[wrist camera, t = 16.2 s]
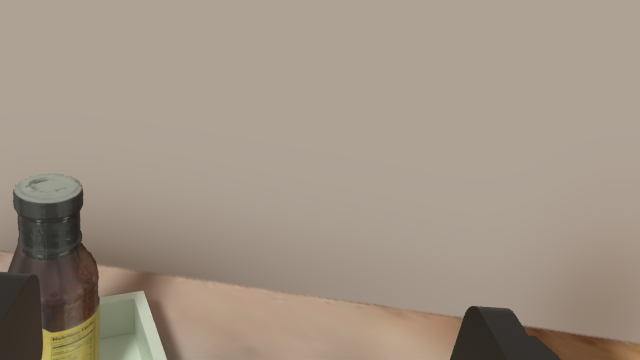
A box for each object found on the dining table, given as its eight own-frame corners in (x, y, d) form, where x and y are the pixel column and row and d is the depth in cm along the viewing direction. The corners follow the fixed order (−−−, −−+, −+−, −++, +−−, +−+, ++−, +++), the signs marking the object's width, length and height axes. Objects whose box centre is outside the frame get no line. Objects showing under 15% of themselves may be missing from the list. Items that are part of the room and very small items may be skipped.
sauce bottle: (11, 388, 45) (-10, 164, 37) (94, 370, 48) (91, 159, 40) (13, 453, 40) (-10, 210, 32) (106, 429, 43) (106, 201, 35)
